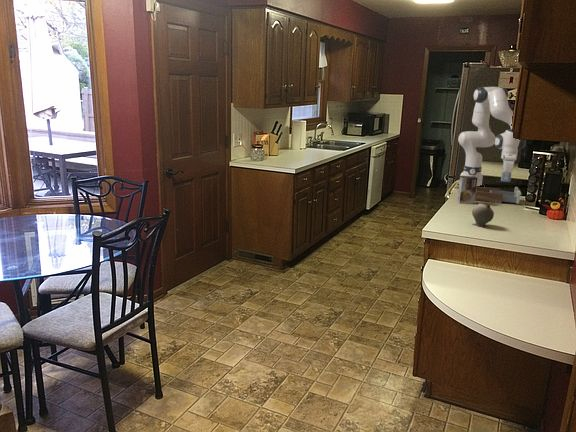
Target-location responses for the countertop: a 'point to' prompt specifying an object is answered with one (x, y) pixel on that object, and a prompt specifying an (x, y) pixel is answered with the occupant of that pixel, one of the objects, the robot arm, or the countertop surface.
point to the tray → (509, 195)
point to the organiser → (488, 195)
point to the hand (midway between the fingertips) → (505, 178)
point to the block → (504, 177)
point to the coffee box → (467, 189)
